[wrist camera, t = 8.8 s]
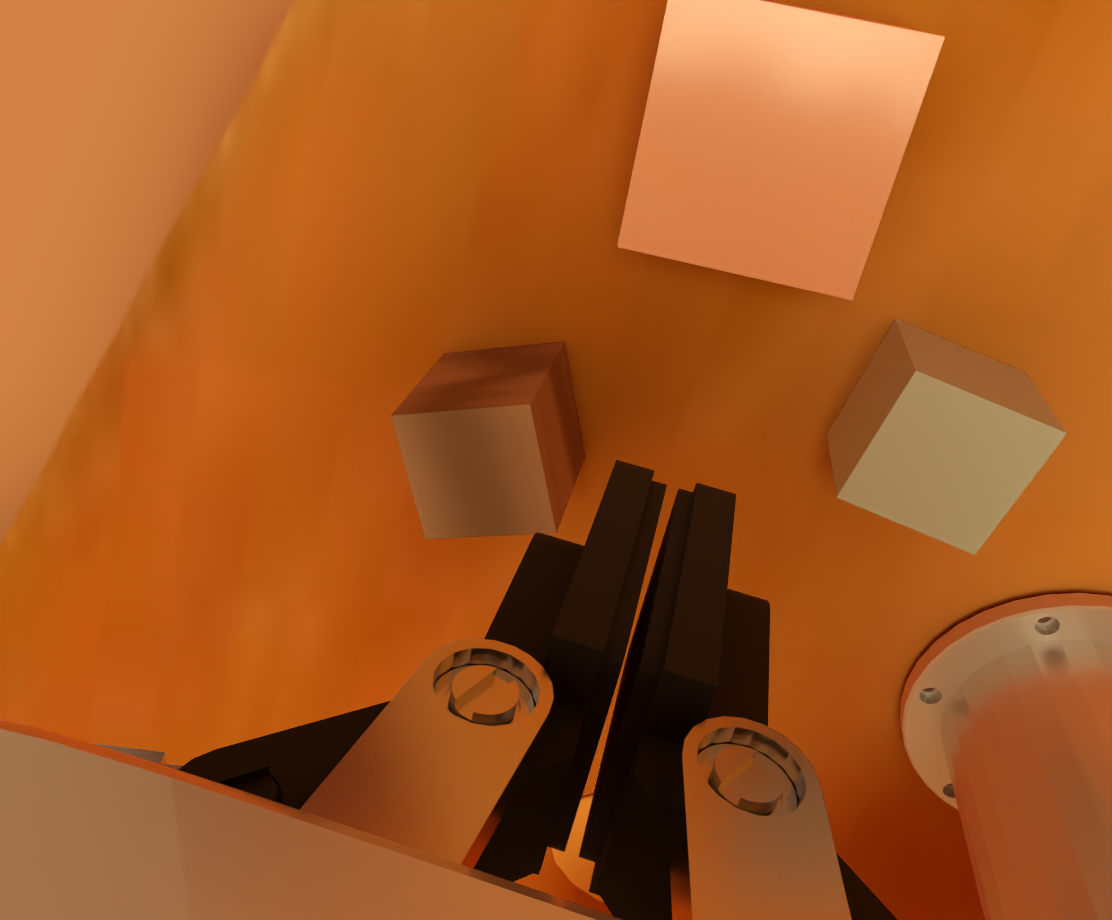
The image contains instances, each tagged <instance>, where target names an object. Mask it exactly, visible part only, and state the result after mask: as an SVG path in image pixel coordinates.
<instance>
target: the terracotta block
mask: <svg viewBox="0 0 1112 920" xmlns="http://www.w3.org/2000/svg"><path fill="white" fill-rule="evenodd" d="M944 38H945V36H941V35H937V34H933V33H929V32H926V31H922V30H918V29H914V28H910V27H905V26H900V25H895V24H890V23H885V22H880V21H875V20H870V19H865V18H860V17H854V16H849V15H844V14H839V13H834V12H829V11H824V10H819V9H814V8H809V7H804V6H798V5H793V4H788V3H783V2H778V1H773V0H668V2H667V7H666V12H665V17H664V22H663V26H662V31H661V36H660V41H659V46H658V51H657V55H656V60H655V65H654V70H653V75H652V80H651V85H650V89H649V94H648V99H647V104H646V109H645V114H644V118H643V123H642V128H641V133H640V138H639V143H638V147H637V152H636V157H635V162H634V167H633V172H632V177H631V181H630V186H629V191H628V196H627V201H626V206H625V210H624V215H623V220H622V225H621V230H620V235H619V240H618V244H617V247H619V248H624V249H628V250H633V251H637V252H641V253H646V254H650V255H655V256H659V257H663V258H668V259H672V260H677V261H681V262H685V263H690V264H694V265H699V266H703V267H707V268H712V269H716V270H721V271H725V272H729V273H734V274H738V275H743V276H747V277H751V278H756V279H760V280H765V281H769V282H773V283H778V284H782V285H787V286H791V287H796V288H800V289H804V290H809V291H813V292H818V293H822V294H826V295H831V296H835V297H840V298H844V299H848V300H853V297H854V294H855V292H856V289H857V286H858V283H859V280H860V277H861V275H862V272H863V269H864V266H865V263H866V260H867V257H868V255H869V252H870V249H871V246H872V243H873V240H874V238H875V235H876V232H877V229H878V226H879V223H880V220H881V218H882V215H883V212H884V209H885V206H886V203H887V200H888V198H889V195H890V192H891V189H892V186H893V183H894V181H895V178H896V175H897V172H898V169H899V166H900V163H901V161H902V158H903V155H904V152H905V149H906V146H907V144H908V141H909V138H910V135H911V132H912V129H913V126H914V124H915V121H916V118H917V115H918V112H919V109H920V107H921V104H922V101H923V98H924V95H925V92H926V89H927V87H928V84H929V81H930V78H931V75H932V72H933V70H934V67H935V64H936V61H937V58H938V55H939V52H940V50H941V47H942V44H943V41H944Z"/></svg>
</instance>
